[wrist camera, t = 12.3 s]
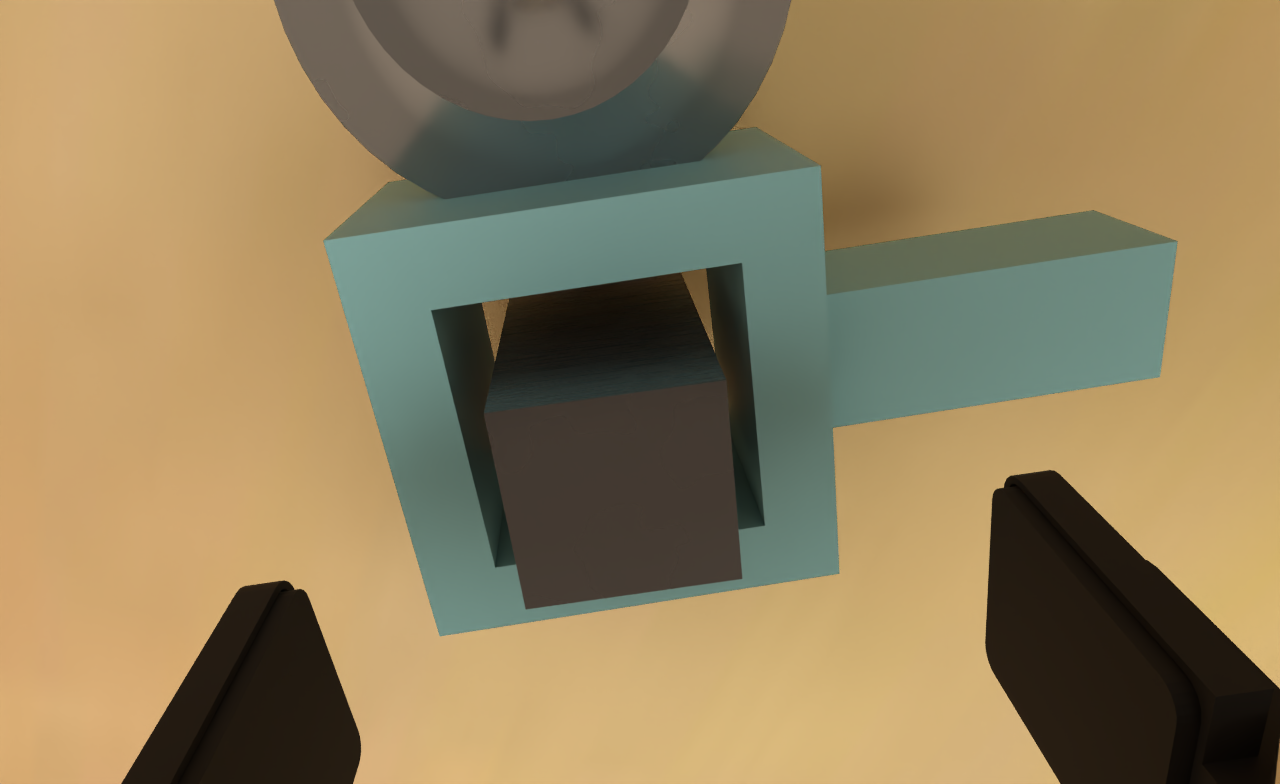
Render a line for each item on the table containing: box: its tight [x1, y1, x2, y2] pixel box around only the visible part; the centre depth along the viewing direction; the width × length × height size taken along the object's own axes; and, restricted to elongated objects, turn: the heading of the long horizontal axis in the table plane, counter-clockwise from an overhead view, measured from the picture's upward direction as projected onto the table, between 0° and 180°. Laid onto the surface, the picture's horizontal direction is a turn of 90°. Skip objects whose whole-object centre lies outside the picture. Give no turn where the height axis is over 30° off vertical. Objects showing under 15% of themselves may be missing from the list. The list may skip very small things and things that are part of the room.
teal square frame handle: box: [324, 127, 1178, 636], centre depth 20 cm, size 17×9×6 cm, turn 98°
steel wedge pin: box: [484, 272, 742, 609], centre depth 23 cm, size 4×4×18 cm
